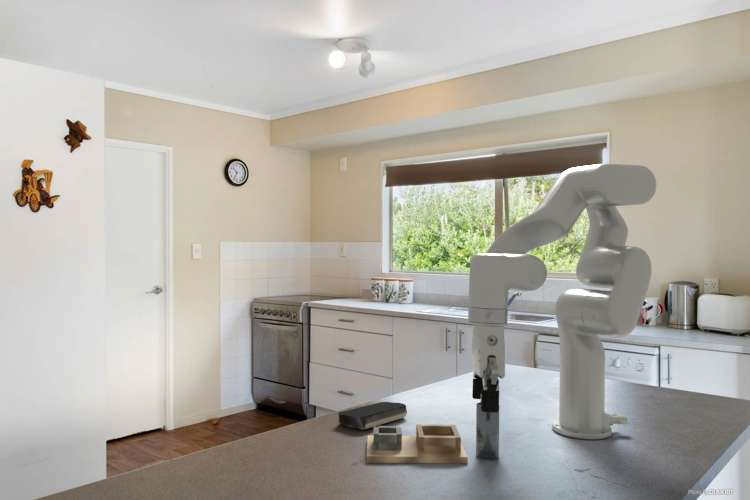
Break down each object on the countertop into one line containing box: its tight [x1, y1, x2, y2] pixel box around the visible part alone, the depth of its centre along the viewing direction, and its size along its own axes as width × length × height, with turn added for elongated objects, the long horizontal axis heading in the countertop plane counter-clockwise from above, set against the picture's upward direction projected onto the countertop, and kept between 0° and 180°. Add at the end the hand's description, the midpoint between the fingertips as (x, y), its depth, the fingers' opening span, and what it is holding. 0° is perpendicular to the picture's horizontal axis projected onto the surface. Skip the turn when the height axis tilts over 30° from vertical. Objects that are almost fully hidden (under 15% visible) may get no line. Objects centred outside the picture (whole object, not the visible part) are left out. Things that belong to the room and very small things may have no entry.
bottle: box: [475, 401, 500, 461], centre depth 112 cm, size 4×4×12 cm
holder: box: [366, 424, 469, 465], centre depth 114 cm, size 19×12×4 cm, turn 90°
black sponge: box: [337, 401, 408, 430], centre depth 134 cm, size 16×8×4 cm, turn 135°
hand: (484, 404), depth 112 cm, fingers open, 9 cm apart
